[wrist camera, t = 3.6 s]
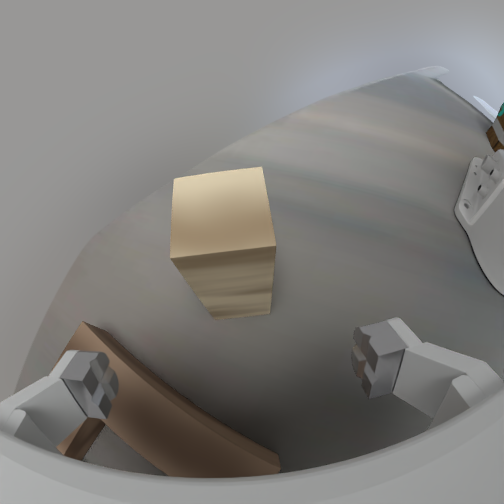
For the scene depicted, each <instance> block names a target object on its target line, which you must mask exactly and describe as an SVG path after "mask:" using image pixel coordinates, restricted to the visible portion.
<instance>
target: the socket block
mask: <svg viewBox="0 0 504 504" xmlns="http://www.w3.org/2000/svg"><path fill="white" fill-rule="evenodd" d="M68 350H79V351H80V350H83V351H100V352H104V353H106V355H107V357H108V359H109V360H110V363H109V367H110V368H112V369H113V370H114V371H115V373H116V375H117V377H118V381H119V391H118V393H117V396H116V397H115V398H114V399H112V400H111V403H112V408H111V411H110V413H109V415H108V418H107V419H99V418H91V417H87V419H86V420H85V421H84V422H83V423H82V424H80V425H79V426H78V427H77V428H76V429H75V430H74V431H73V432H72V433H71V434H70V435H69V436H68V437H66V438H65V439H64V440H63V441H62V442H61V443H60V444H59V445H58V446H57V447H56V448H57V449H58V450H59V451H60V452H61V453H62V454H63V456H66V457H69V458H72V459H76V460H79V461H81V460H82V459H83V457H84V456H85V454H86V453H87V451H88V450H89V448H90V447H91V445H92V444H93V442H94V440H95V439H96V437H97V436H98V434H99V433H100V431H101V430H102V428H103V427H104V425H105V424H106V425H107V426H108V427H109V428H110V429H111V430H112V431H113V432H115V433H116V434H117V435H118V436H119V437H120V438H121V439H122V440H123V441H125V442H126V443H127V444H128V445H129V446H130V447H132V448H133V449H134V450H135V451H136V452H138V453H139V454H140V455H141V456H143V457H144V458H145V459H146V460H148V461H149V462H150V463H152V464H153V465H154V466H156V467H157V468H158V469H160V470H161V471H162V472H164V473H165V474H167V475H168V476H170V477H185V478H235V477H251V476H262V475H272V474H278V472H279V471H280V470H281V466H280V461H279V456H278V454H277V453H275V452H273V451H271V450H269V449H267V448H265V447H263V446H261V445H259V444H258V443H256V442H254V441H252V440H250V439H249V438H247V437H245V436H243V435H242V434H240V433H238V432H237V431H235V430H233V429H232V428H230V427H228V426H227V425H225V424H223V423H222V422H220V421H219V420H217V419H216V418H214V417H213V416H211V415H210V414H208V413H207V412H205V411H204V410H202V409H201V408H199V407H198V406H196V405H195V404H193V403H192V402H191V401H189V400H188V399H186V398H185V397H184V396H182V395H181V394H180V393H178V392H177V391H176V390H174V389H173V388H172V387H170V386H169V385H168V384H166V383H165V382H164V381H163V380H161V379H160V378H159V377H157V376H156V375H155V374H154V373H153V372H151V371H150V370H149V369H148V368H147V367H145V366H144V365H143V364H142V363H141V362H139V361H138V360H137V359H136V358H135V357H134V356H133V355H131V354H130V353H129V352H128V351H127V350H126V349H125V348H124V347H123V346H122V345H120V344H119V343H118V342H117V341H116V340H115V339H114V338H113V337H112V336H111V335H110V334H109V333H108V332H107V331H104V330H102V329H100V328H97V327H95V326H93V325H90V324H88V323H86V322H84V321H82V323H81V324H80V326H79V327H78V329H77V330H76V332H75V333H74V335H73V336H72V338H71V340H70V341H69V343H68V344H67V346H66V348H65V349H64V351H63V352H62V354H61V356H60V357H59V359H58V361H57V362H56V364H55V366H56V365H57V363H58V362H59V361H60V359H61V358H62V357H63V355H64V354H65V353H66V351H68ZM55 366H54V367H53V369H54V368H55ZM53 369H52V371H53ZM52 371H51V372H52ZM49 375H50V374H49Z"/></svg>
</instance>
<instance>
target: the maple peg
mask: <svg viewBox="0 0 504 504" xmlns="http://www.w3.org/2000/svg"><path fill="white" fill-rule="evenodd" d="M275 254H276V241H275V236H274V230H273V224H272V219H271V213H270V208H269V202H268V197H267V191H266V186H265V180H264V175H263V170H262V167H256V168H247V169H238V170H230V171H222V172H214V173H207V174H200V175H193V176H187V177H181V178H175V179H174V186H173V201H172V219H171V244H170V259H171V260H172V262H173V263H174V264H175V266H176V267H177V269H178V270H179V272H180V273H181V274H182V276H183V277H184V279H185V280H186V281H187V283H188V284H189V285H190V287H191V288H192V290H193V291H194V292H195V294H196V295H197V296H198V298H199V299H200V300H201V302H202V303H203V304H204V306H205V307H206V308H207V310H208V311H209V312H210V314H211V315H212V316H213V318H214V319H215V320H220V319H230V318H239V317H248V316H257V315H265V314H270V308H271V298H272V287H273V276H274V265H275Z"/></svg>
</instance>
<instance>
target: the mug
mask: <svg viewBox="0 0 504 504" xmlns="http://www.w3.org/2000/svg"><path fill="white" fill-rule="evenodd" d="M486 134H487V137H488V139H489V141H490V144H491V147H492V149H493V150H494V151H495V152H496V151H498V150H500V149H503V150H504V103H503V104H502V106H501V108H500V111H499V113H498V115H497V117H496V119H495V121H494V123H493V124H492V126H491V127H490V128H489V130H488V131H487V132H486Z"/></svg>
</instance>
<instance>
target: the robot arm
mask: <svg viewBox="0 0 504 504" xmlns="http://www.w3.org/2000/svg"><path fill="white" fill-rule="evenodd" d="M454 211H455V215H456V217H457V218H458V220H459V222H460V223H461V225H462V226H463V228H464V229H465V230H466V232H467V234H468V236H469V238H470V241H471V244H472V247H473V250H474V253H475V255H476V258H477V260H478V262H479V264H480V266H481V268H482V270H483V271H484V273H485V275H486V276H487V278H488V279H489V281H490V282H491V283H492V284H493V286H494V287H495V288H496V289H497V290H498V291H499V292H500V293H501V294H503V295H504V150H503V149H500V150H498V151H496V152H495V154H494V155H493V156H492V157H491V156H489V155H486V156H485V158H484V159H481V158H478V157H474V158H473V159H472V160H471V162H470V166H469V169H468V172H467V175H466V178H465V181H464V184H463V187H462V190H461V193H460V195H459V198H458V201H457V203H456V206H455V209H454ZM353 339H354V340H355V342H356V345H355V346H354V347H353V349H352V355H351V359H352V366H353V369H354V372H355V374H356V376H358V377H360V378H362V384H361V385H362V387H363V389H364V391H365V393H366V395H367V397H368V399H371V398H375V397H379V396H382V395H386V394H389V393H392V392H393V393H392V394H394V395H395V396H397V397H399V398H400V399H402V400H403V401H405V402H407V403H408V404H410V405H412V406H413V407H415V408H417V409H418V410H420V411H421V412H423V413H425V414H426V415H428V416H430V417H431V418H433V420H432V422H431V424H430V426H429V428H428V429H427V431H425V432H423V433H421V434H419V435H416V436H414V437H412V438H409V439H407V440H404V441H402V442H399V443H397V444H394V445H392V446H389V447H386V448H383V449H381V450H378V451H375V452H372V453H369V454H365V455H362V456H359V457H355V458H352V459H348V460H345V461H341V462H337V463H333V464H329V465H324V466H320V467H315V468H310V469H305V470H299V471H293V472H287V473H280V474H272V475H262V476H251V477H235V478H185V477H170V476H159V475H150V474H142V473H135V472H129V471H123V470H118V469H113V468H108V467H103V466H99V465H95V464H91V463H87V462H83V461H79V460H76V459H72V458H69V457H66V456H63V454H62V453H61V452H60V451H59V450H58V449H57V448H56V447H57V446H58V445H59V444H60V443H61V442H62V441H63V440H64V439H65V438H66V437H68V436H69V435H70V434H71V433H72V432H73V431H74V430H75V429H76V428H77V427H78V426H79V425H80V424H82V423H83V422H84V421H85V420H86V419H87V417H91V418H99V419H107V418H108V415H109V413H110V411H111V408H112V403H111V400H112V399H114V398H115V397H116V396H117V393H118V391H119V381H118V377H117V375H116V373H115V371H114V370H113V369H112V368H110V367H109V363H110V360H109V359H108V357H107V355H106V353H104V352H100V351H83V350H80V351H79V350H68V351H66V353H65V354H64V355H63V357H62V358H61V359H60V361H59V362H58V363H57V365H56V366H55V368H54V369H53V371H52V372H51V373H50V375H49V376H48V377H46V376H45V377H43V378H42V379H40V380H38V381H36V382H35V383H33V384H31V385H30V386H28V387H26V388H24V389H23V390H21V391H19V392H18V393H16V394H14V395H12V396H11V397H9V398H7V399H6V400H4V401H2V402H1V403H0V504H504V381H503V380H502V379H501V378H500V377H499V376H498V375H497V374H496V373H495V371H494V370H493V369H492V368H491V367H490V366H489V365H488V364H487V363H486V362H485V361H481V360H478V359H475V358H472V357H469V356H466V355H463V354H460V353H457V352H454V351H451V350H448V349H445V348H443V347H440V346H437V345H434V344H431V343H428V342H425V343H422V342H421V341H420V339H419V338H418V337H417V336H416V335H415V334H414V333H413V332H412V331H411V330H410V328H409V327H408V326H407V325H406V324H405V323H404V322H403V321H402V320H401V319H400V318H398V317H395V318H391V319H387V320H384V321H382V322H378V323H374V324H369V325H365V326H360V327H356V328H355V331H354V336H353Z"/></svg>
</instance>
